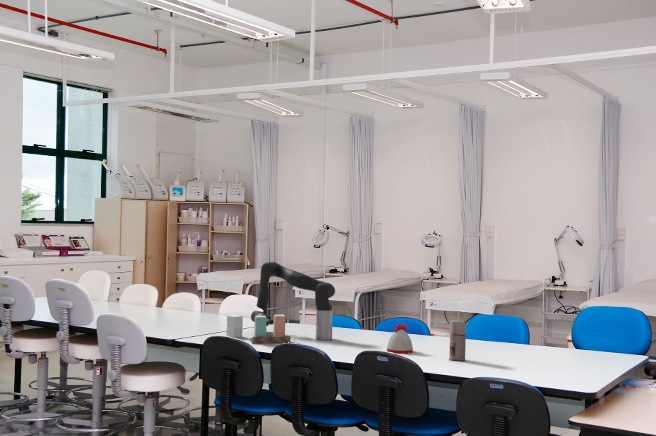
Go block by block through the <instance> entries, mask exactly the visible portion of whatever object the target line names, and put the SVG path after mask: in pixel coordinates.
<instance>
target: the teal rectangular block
mask: <svg viewBox="0 0 656 436" xmlns="http://www.w3.org/2000/svg"><path fill="white" fill-rule="evenodd" d="M266 325H267V317H266V316H256V317H255V322H254V335H253V337H265V336H267V326H266Z"/></svg>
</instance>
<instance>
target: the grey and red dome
mask: <svg viewBox="0 0 656 436" xmlns="http://www.w3.org/2000/svg"><path fill="white" fill-rule="evenodd" d="M395 327H396V328H393V330H394V332H393V333H392V334H390V335H391V336H390V337H389V338H388V339H389V340H388V342H387V345H386V346H387V347H386V352H388V353H390V352H393V353H392V354H404V355H406V354H413V353H414V347H413V343H412V339H411V337H410V336H409V334H408V333H407V332H406V330H407V328H408V325H406V323H398V324H397V325H396V326H395Z"/></svg>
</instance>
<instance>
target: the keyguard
mask: <svg viewBox="0 0 656 436" xmlns="http://www.w3.org/2000/svg"><path fill="white" fill-rule="evenodd" d="M249 341H250V343H251V344H253V345H254V344H257V345H258V344H259V345H260V344H262V345H263V344H264V345H265V344H268V345H269V344H275V345H276V344H291V336H290V335H285V336H273V335H272V336H270V335H269V336H268V335H266V336H265V337H254V336H252V337H249ZM288 342H289V343H288Z"/></svg>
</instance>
